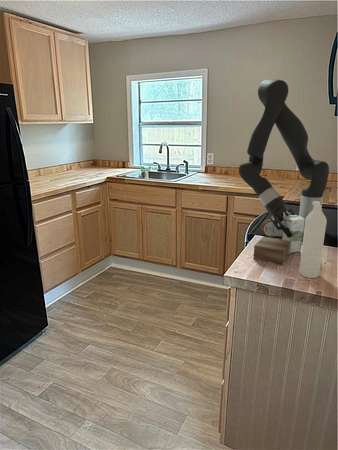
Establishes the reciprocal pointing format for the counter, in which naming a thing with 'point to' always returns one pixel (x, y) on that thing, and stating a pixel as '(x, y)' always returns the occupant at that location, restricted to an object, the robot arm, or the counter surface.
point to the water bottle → (313, 242)
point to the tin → (270, 229)
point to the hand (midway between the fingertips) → (295, 234)
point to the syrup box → (294, 232)
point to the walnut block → (272, 250)
